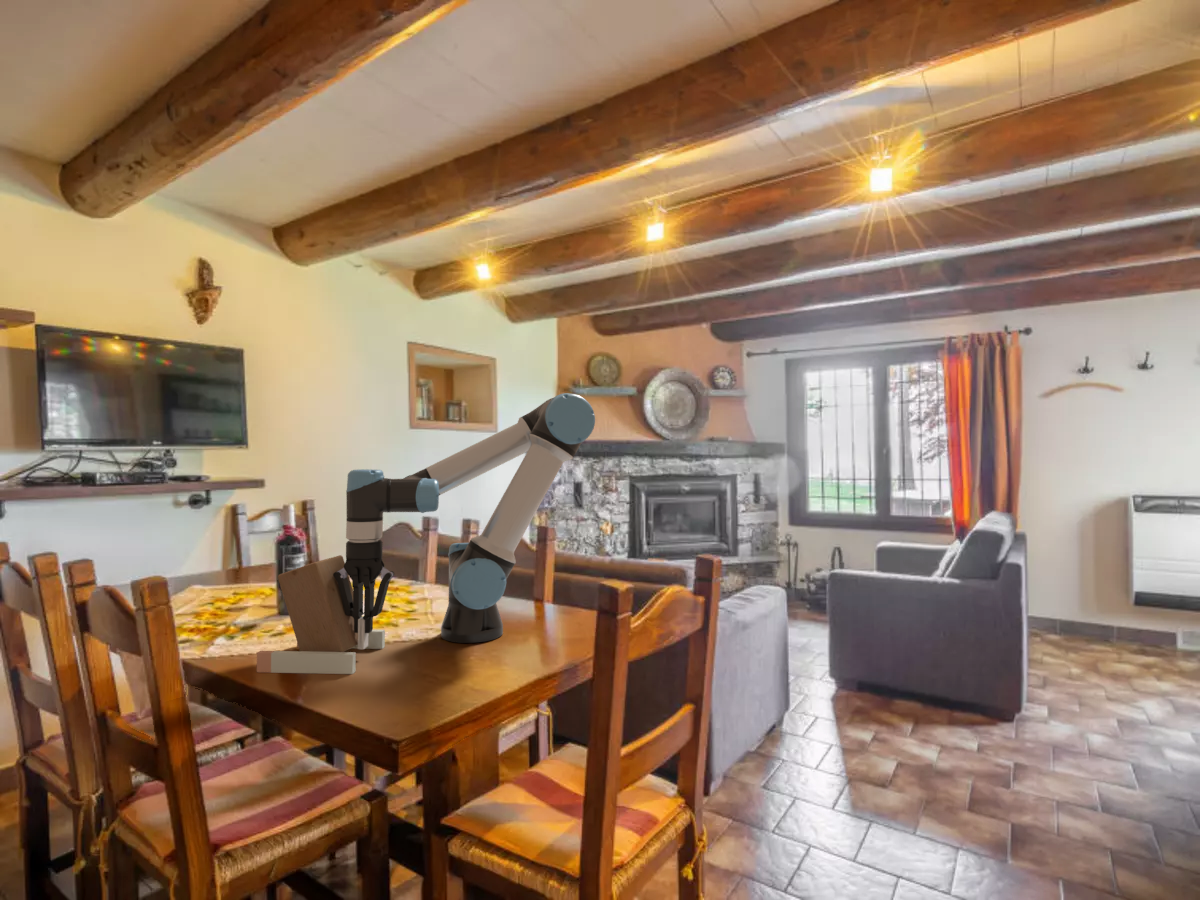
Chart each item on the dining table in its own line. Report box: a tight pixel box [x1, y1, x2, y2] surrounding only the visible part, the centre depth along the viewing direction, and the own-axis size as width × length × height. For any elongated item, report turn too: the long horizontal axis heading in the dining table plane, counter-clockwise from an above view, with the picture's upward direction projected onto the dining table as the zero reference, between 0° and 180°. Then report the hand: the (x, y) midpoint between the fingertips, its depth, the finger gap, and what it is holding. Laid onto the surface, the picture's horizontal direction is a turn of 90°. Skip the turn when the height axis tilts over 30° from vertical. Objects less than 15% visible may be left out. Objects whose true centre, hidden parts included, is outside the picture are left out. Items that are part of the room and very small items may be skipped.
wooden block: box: [277, 554, 358, 652], centre depth 142 cm, size 10×10×20 cm
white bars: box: [256, 629, 386, 675], centre depth 141 cm, size 20×18×4 cm
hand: (363, 647), depth 141 cm, fingers closed
